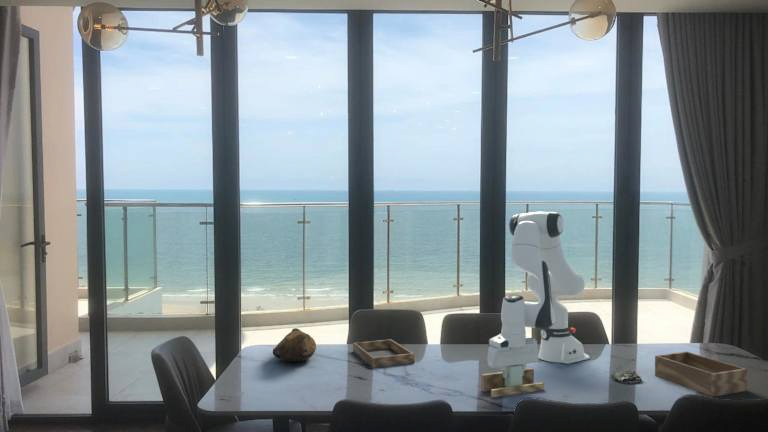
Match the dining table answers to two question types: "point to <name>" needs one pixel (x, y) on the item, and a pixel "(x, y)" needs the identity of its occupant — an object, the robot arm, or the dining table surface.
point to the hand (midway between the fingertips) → (513, 376)
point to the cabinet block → (514, 376)
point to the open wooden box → (701, 373)
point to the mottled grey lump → (626, 377)
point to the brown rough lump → (295, 346)
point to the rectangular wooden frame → (402, 358)
